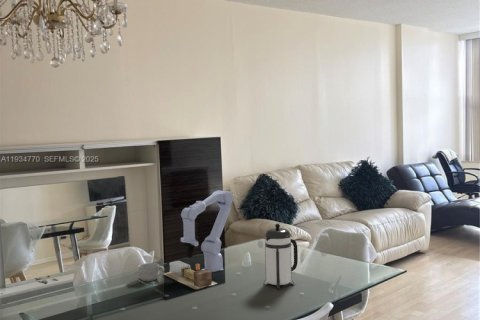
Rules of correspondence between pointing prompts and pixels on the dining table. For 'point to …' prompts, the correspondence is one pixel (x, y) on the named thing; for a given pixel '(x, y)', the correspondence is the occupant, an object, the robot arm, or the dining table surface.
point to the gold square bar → (190, 271)
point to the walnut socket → (202, 278)
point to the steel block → (178, 268)
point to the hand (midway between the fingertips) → (189, 257)
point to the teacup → (149, 271)
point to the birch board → (186, 280)
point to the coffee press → (279, 256)
